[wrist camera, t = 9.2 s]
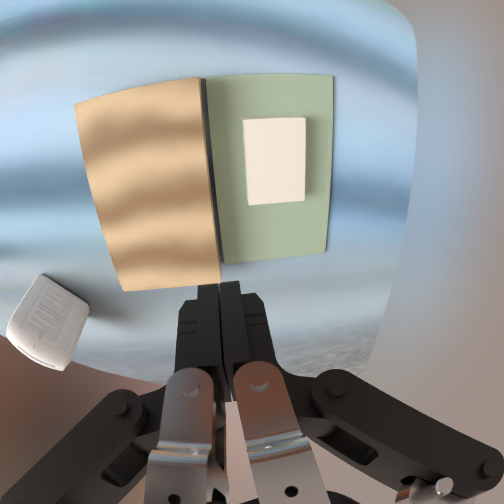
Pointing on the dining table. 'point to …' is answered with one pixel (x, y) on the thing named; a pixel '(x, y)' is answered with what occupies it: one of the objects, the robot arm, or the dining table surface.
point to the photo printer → (48, 323)
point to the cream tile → (274, 158)
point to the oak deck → (152, 183)
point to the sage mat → (233, 164)
